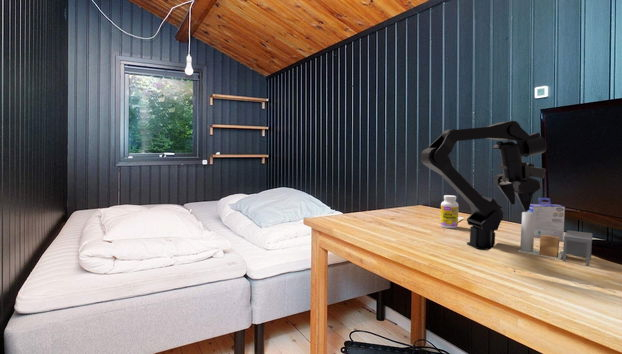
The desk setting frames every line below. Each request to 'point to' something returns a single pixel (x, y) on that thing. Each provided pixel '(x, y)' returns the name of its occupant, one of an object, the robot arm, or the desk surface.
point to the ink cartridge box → (548, 219)
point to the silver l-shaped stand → (530, 235)
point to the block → (549, 246)
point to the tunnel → (577, 245)
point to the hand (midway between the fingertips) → (519, 207)
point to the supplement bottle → (449, 212)
